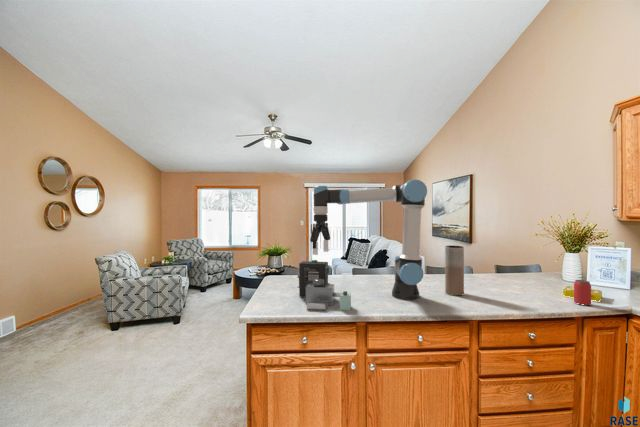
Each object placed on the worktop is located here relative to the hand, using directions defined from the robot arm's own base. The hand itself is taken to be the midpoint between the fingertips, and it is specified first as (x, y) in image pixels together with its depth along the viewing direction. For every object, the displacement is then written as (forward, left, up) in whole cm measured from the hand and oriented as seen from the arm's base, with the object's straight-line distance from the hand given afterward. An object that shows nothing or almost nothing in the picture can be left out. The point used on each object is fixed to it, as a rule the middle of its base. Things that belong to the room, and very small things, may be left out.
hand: (320, 253), depth 158 cm
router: (+6, -8, -26) cm, 28 cm away
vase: (-75, -25, -26) cm, 84 cm away
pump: (-14, +12, -26) cm, 32 cm away
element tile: (-144, -30, -26) cm, 149 cm away
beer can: (-135, -15, -26) cm, 138 cm away
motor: (-2, +9, -26) cm, 27 cm away
